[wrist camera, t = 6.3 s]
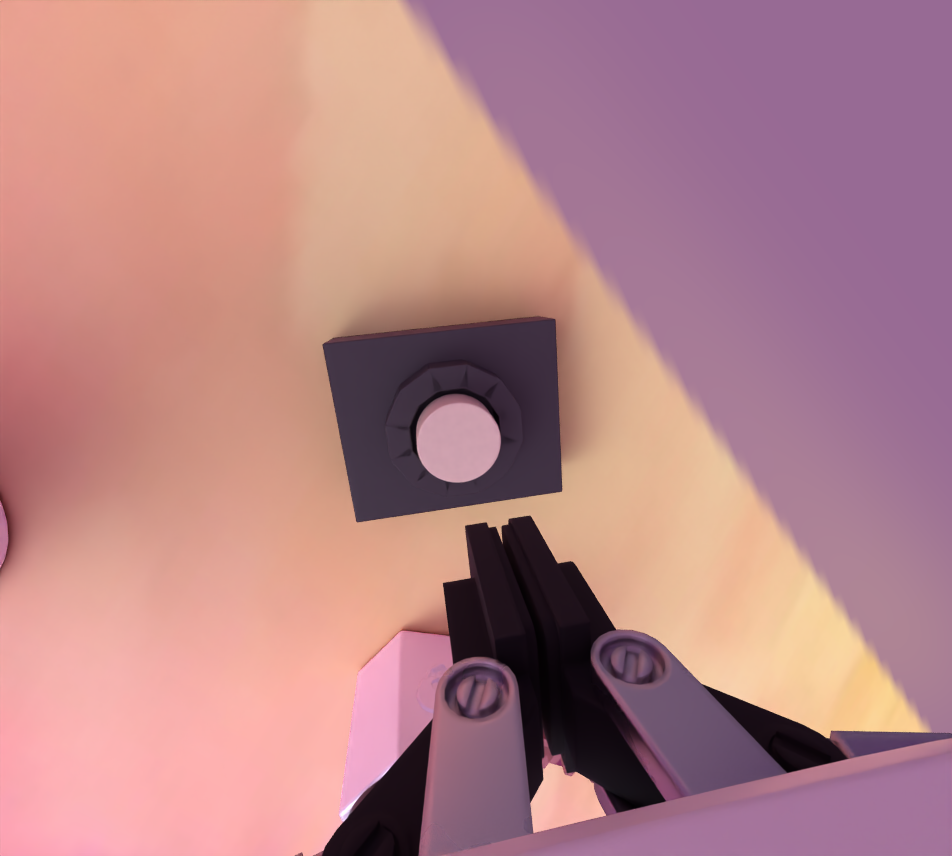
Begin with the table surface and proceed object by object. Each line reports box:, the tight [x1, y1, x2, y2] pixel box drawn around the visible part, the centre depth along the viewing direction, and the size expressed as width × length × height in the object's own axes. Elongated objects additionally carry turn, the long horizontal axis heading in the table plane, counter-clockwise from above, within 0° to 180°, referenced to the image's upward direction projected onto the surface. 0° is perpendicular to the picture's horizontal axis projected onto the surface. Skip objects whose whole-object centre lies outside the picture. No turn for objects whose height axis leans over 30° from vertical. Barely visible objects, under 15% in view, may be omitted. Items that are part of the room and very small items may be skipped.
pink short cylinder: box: [416, 394, 501, 483], centre depth 22 cm, size 4×4×2 cm
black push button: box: [323, 316, 562, 522], centre depth 25 cm, size 12×10×5 cm
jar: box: [339, 631, 453, 822], centre depth 27 cm, size 9×8×12 cm
